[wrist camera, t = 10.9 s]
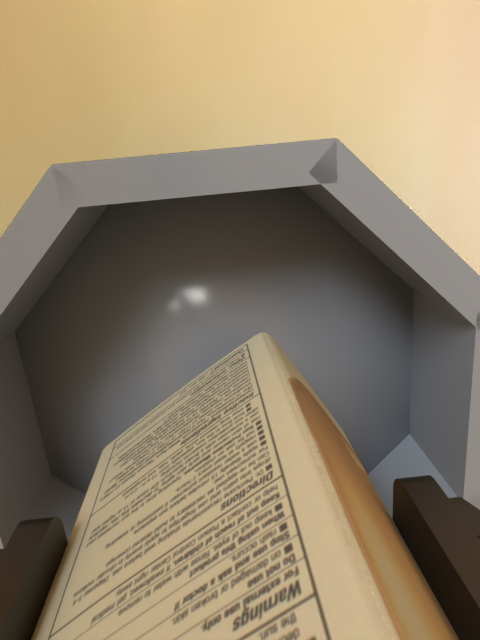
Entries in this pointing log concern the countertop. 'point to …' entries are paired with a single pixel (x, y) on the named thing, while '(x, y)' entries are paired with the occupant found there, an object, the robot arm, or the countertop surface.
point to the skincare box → (238, 524)
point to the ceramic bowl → (229, 312)
